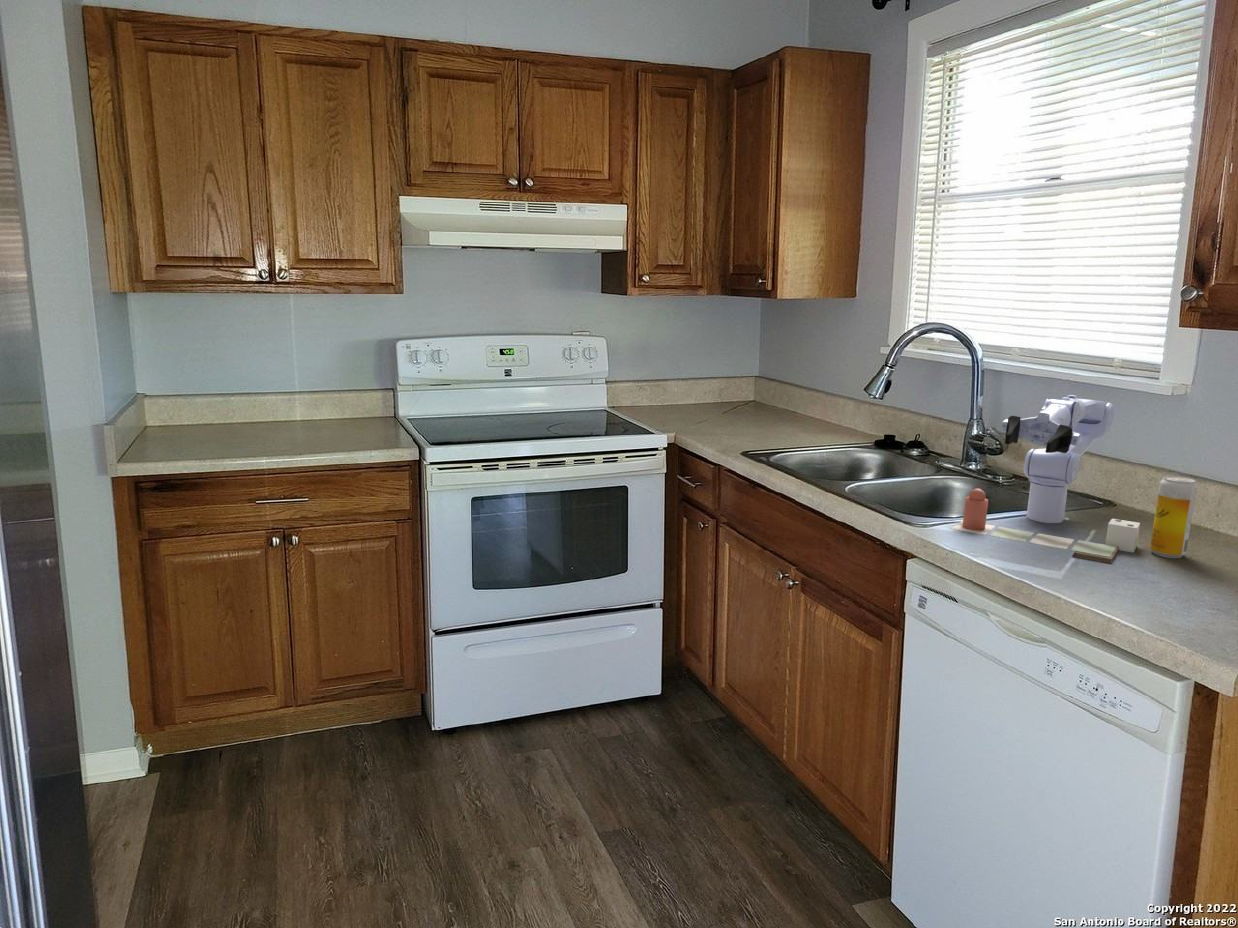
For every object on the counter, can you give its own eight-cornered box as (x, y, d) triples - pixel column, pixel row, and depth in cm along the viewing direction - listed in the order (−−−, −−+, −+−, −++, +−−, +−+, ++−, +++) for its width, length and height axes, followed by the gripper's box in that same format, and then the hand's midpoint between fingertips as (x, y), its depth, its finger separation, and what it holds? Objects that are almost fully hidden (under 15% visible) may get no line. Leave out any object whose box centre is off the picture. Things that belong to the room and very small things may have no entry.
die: (1108, 542, 189) (1112, 518, 187) (1136, 547, 186) (1140, 522, 185) (1104, 547, 185) (1108, 523, 183) (1133, 552, 182) (1137, 527, 181)
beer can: (1152, 547, 185) (1164, 474, 182) (1187, 554, 182) (1200, 479, 178) (1146, 554, 181) (1158, 478, 178) (1182, 561, 177) (1194, 484, 174)
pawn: (965, 523, 196) (969, 485, 194) (987, 526, 193) (991, 488, 191) (959, 527, 192) (964, 488, 190) (981, 531, 190) (986, 492, 188)
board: (961, 523, 199) (961, 519, 199) (1118, 550, 182) (1119, 546, 182) (947, 533, 191) (948, 529, 191) (1110, 563, 174) (1111, 558, 174)
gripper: (1014, 399, 195) (992, 416, 185) (1089, 413, 186) (1070, 432, 176) (1009, 431, 197) (987, 450, 187) (1083, 446, 189) (1064, 466, 179)
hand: (1027, 443), depth 182 cm, fingers open, 7 cm apart
